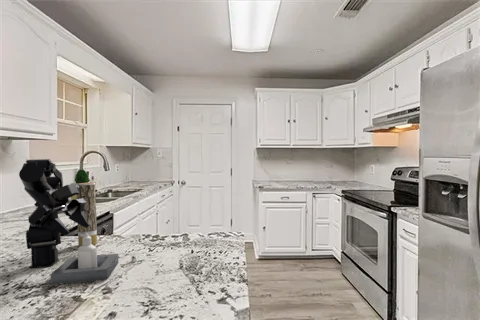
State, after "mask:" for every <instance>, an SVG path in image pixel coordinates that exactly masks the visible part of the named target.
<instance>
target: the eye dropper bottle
mask: <svg viewBox="0 0 480 320" xmlns="http://www.w3.org/2000/svg"><path fill="white" fill-rule="evenodd" d="M97 251H98V250H97V247H96V246H95V245H92V244H91V237H90V236H89V235H88V233H85V237H83V238H82V246H79V247H78V249H77V257H78V269H81V268H92V267H97V255H98V253H97Z"/></svg>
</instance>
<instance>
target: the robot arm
mask: <svg viewBox="0 0 480 320" xmlns="http://www.w3.org/2000/svg"><path fill="white" fill-rule="evenodd" d="M18 175H19V178H20V180H21V182H22V184H23V186H24V191H26V193H27V194H28V195H29V197H31V198H32V199H33V200H34V202H35V203H34V206H35V209H34V210H33V212H32V213H31V214H30V215H29V216H28V220H27V221H28V223H29V227H28V229H27V230H26V232H25V240H26V247H27V248H26V249H27V250H30V249H31V250H30V252H31V254H30V255H31V265H29V266H28V267H29V269H35V268H45V267H47V268H48V267H51V266H53V265H54V264H55V263H57V262H58V261H59V260H60V259H59V249H58V247H57V246H58V245H61V244H62V238H61V237H62V236H61V235H65V236H68V235H69V234H70V231H69V229H68V228H67V226H66V225H65V223H63V222H62V219H60V217H59V215H60V214H64V215H65V216H67V217H68V219H69V220H71V221H73V222H75V223H76V224H77V225H78V224H80V225H81V226H83V227H85V228H88V226H89V224H88V221H87V219H86V217H85V214H84V211H83V210H84V207H85V204H86V201H85V200H84V199H83V198H78V199H73V200H72V201H71V197H72V196H74V195H77V194H79V191H80V187H79V186H78V185H77V184H76V182H71V183H69V184H65V185H64V180H63V179H64V178H63V173H62V172H61V171H60V170H59V169H58V168H57V166H56V163H54V162H52V160H51V159H50V158H48V159H47V158H44V159H42V158H41V159H27V160H26V161H25V163H23V165H22V167H21V169H20V171H19V173H18ZM52 175H53V176H52ZM69 201H70V202H69Z"/></svg>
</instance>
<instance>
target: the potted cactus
mask: <svg viewBox="0 0 480 320" xmlns="http://www.w3.org/2000/svg"><path fill="white" fill-rule="evenodd" d="M75 173H76V174H75V175H74V176H73V177H74V183H75V184H79V183H89V180H90V177H89V173H88V172H87V171H86V170H85V169H78V170H77V171H75ZM73 199H77V195H74V196H72V197H70V202H71V201H72V200H73Z"/></svg>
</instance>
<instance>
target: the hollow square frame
mask: <svg viewBox="0 0 480 320" xmlns="http://www.w3.org/2000/svg"><path fill="white" fill-rule="evenodd" d="M118 264H119V253H109V254H97V267H92V268H81V269H78V256H73V257H69V258H68V259H67V260H66V261H64V263H62V264H61V265H60V266H59V267H57V268H56V269H55V270H54V271H53V272H51V273H50V286H53V285H52V284H57V285H61V284H60V283H68V284H76V282H78V283H86V282H87V281H88V282H95V281H96V280H98V281H107V279H109V278H110V276H111V275H112V273H113V272H114V270H115V268H116V267H117V265H118ZM73 282H74V283H73ZM96 282H97V281H96Z"/></svg>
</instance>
